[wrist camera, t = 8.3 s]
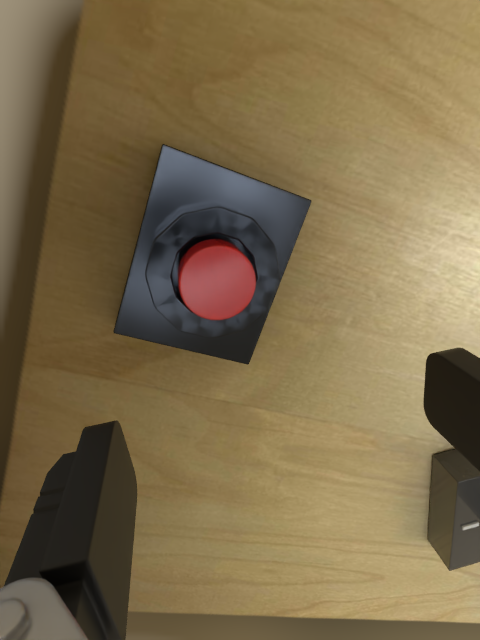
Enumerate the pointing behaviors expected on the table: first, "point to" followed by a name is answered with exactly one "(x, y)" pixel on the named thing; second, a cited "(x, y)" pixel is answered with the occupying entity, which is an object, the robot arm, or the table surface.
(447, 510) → the rotary switch
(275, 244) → the switch block
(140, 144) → the table surface
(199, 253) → the button
